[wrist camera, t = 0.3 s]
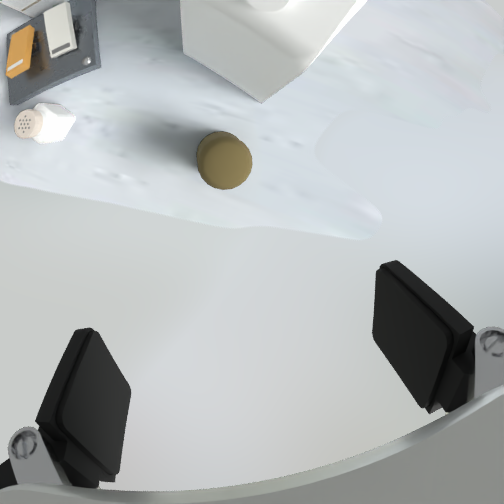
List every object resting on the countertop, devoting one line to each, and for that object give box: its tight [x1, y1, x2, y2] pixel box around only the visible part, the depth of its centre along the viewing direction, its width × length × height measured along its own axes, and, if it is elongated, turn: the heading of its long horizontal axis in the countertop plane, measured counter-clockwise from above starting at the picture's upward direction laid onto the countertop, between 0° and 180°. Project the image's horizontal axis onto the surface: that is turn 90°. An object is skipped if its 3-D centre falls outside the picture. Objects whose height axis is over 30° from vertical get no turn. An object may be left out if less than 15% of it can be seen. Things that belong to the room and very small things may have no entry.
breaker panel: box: [7, 0, 101, 105], centre depth 25 cm, size 12×14×3 cm
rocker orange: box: [6, 25, 35, 79], centre depth 22 cm, size 7×3×2 cm, turn 9°
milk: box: [180, 0, 367, 104], centre depth 19 cm, size 12×12×26 cm
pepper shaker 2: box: [14, 103, 76, 144], centre depth 27 cm, size 4×4×10 cm
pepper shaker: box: [197, 131, 252, 190], centre depth 31 cm, size 6×6×11 cm
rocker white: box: [44, 2, 77, 58], centre depth 22 cm, size 7×3×2 cm, turn 9°
